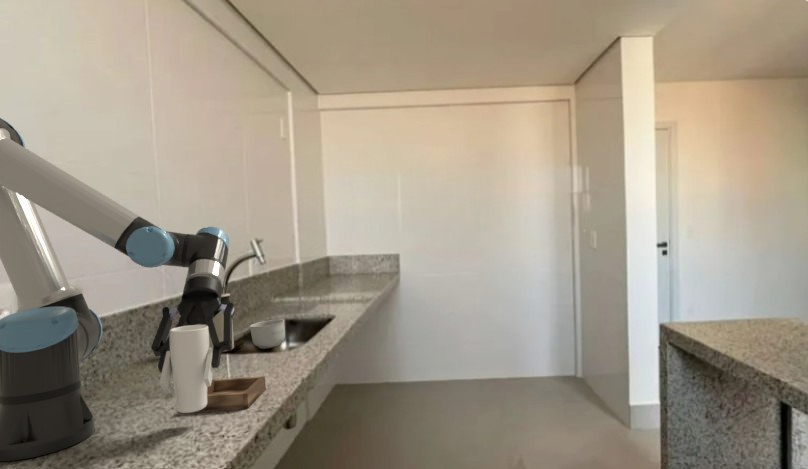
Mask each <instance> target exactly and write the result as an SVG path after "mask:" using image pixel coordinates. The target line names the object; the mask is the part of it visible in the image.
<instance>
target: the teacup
mask: <svg viewBox="0 0 808 469" xmlns="http://www.w3.org/2000/svg"><path fill="white" fill-rule="evenodd" d="M249 328H250V334H251V341H252V343H253V345H254V346H256V347H257V348H259V349H263V350H265V349H271V348H272V349H273V348H275V347H277V346H280V345H281V344H282V343H283V342H284V341H285V338H286V329H285V328H286V327H285V320H284V319H270V320H262V321H259V322H255V323H252V324H251V325H249Z"/></svg>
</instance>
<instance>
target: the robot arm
mask: <svg viewBox="0 0 808 469" xmlns="http://www.w3.org/2000/svg"><path fill="white" fill-rule="evenodd" d="M36 205H37V206H38V207H40V208H42V209H44V210H46V211H48V212H49V213H51V214H53V215H54V216H56V217H59V218H60V219H62V220H64V221H65V222H67V223H69V224H71V225H72V226H74V227H76V228H78V229H80V230H81V231H83V232H85V233H86V234H88V235H90V236H92V237H94V238H96V239H98V240H99V241H101V242H102V243H105V244H106V245H108V246H110V247H112V248H114V249H115V250H117V251H118V252H120V253H122V254H123V255H125V256H126V257H129V259H130V260H131V261H132V262H133V263H135V264H136V265H139V266H141V267H143V268H150V269H151V268H158V267H162V266H167V267H168V266H169V267H180V268H181V267H182V268H188V269H187V273H186V277H185V280H184V282H185V284H184V286H183V290H182V294H181V301H180V302H179V304H178V305H177V307H173V308H169V307H168V306H164V307H163V308H162V309H161V310H162V317H161V320H160V323H159V326H158V328H157V331H156V333H155V337H154V338H153V341H152V344H151V346H150V347H151V348H150V349H151V350H152V352H153V354H154V356H155V357H159V361H158V364H157V368H158V370H159V373H160V374H161V375H160V377H159V378H160V379H159V382H158V383H159V385H160V387H161V389H162V392H167V391H169V387H170V381H171V377H172V374H173V373H172V366H171V358H170V347H169V333H170V332H169V331H170V330H171V329H172V326H173V321H175V318H176V316H178V315H180V317H179V318H178V322H177V324H176V325H175V326H174V328H176V327H182V326H189V325H206V324H207V326H208V329H209V333H210V337H211V340H212V344H213V347H211V348H209V350H208V354H207V360H206V367H205V373H204V382H205V384H206V387H209V386H211V382H212V380H213V373H214V369H217V368H219V367H220V363H221V356H222V353H224V352H223V351H225V350H230V351H232V350H233V349H232V321H233V318H234V316H235V314H236V310H235V306H234V303H233V302H231V303H228V304H227V305H224V304H221V296H222V294H223V287H224V286H223V285H224V281H225V274H226V268H227V267H226V266H227V261H228V255H229V244H230V241H229V236H228V234H227V233H226V232H225V231H224V230H223V229H221V228H218V227H215V226H208V227H202V228H200V229H199V230H198V231H197V232H196V233H195V234H193V233H181V232H174V231H168V230H164V229H162V228H161V227H159V226H157V225H156V224H154V223H152V222H151V221H148V220H147V219H146V218H143V217H141V216H140V215H138V214H137V213H135V212H133V211H132V210H130V209H128V208H127V207H126V206H123V205H122V204H120V203H118V202H116V200H115V201H114V200H113V199H111V198H110V197H108V196H106V195H105V194H103V193H102V192H100V191H98V190H97V189H95V188H93V187H91V186H90V185H88V184H86V182H83V181H81V180H80V179H79V178H76V177H74V176H73V175H71V174H70V173H68V172H66V171H65V170H63V169H61V168H60V167H58V166H56V165H54V164H53V163H52V162H50V161H48V160H47V159H44V158H43V157H41V156H40V155H38V154H36V153H34V152H33V151H31V150H30V149H27V148H26V144H25V141H24V138H23V137H22V136H21V135H20V133H19V131H17V129H15V127H14V126H13V125H12V124H11V123H9V122H8V121H6V120H5V119H3V118H1V117H0V261H1V263H2V266H3V268H4V270H5V273H6V275H7V277H8V279H9V281H10V284H11V287H12V289H13V291H14V293H15V295H16V296H17V300H18V301H19V307H18V309H17V310H16V312H14V313H10V314H9V315H6V316H4V317H2V318H0V462H11V461H18V460H21V461H22V460H25V459H32V458H36V457H40V456H43V455H48V454H51V453H56V452H57V451H61V450H64V449H66V448H69V447H72V446H74V445H76V444H79V443H81V442H83V441H84V440H86V439H88V438H89V437H90V436H92V435H93V434H94V433H95V430H96V426H95V417H94V414H93V413H92V411H91V408H90V406H89V404H88V403H87V400H86V398H85V396H84V394H83V392H82V383H81V382H82V381H81V379H82V378H81V366H80V365H81V363H80V362H82V361H83V360H85V359H87V358H88V357H89V356H91V354H93V353H94V351H95V350H96V348H97V347H98V346H99V343H100V342H101V339H102V336H103V323H102V321H101V319H100V317H99V316H98V314H97V313H95V312H94V311H93V310H92V308H91V309H90V308H89V306H88V304H87V301H86V299H85V297H84V295H83V292H82V291H80V290H77V289H74V288H72V287H71V285H70V284H69V281H68V279H67V276H66V274H65V272H64V270H63V267H62V265H61V263H60V260H59V258H58V256H57V254H56V252H55V249H54V247H53V244H52V242H51V240H50V237H49V235H48V232H47V231H46V228H45V226H44V224H43V222H42V218H41V216H40V214H39V212H38V210H37V207H36ZM220 311H222V313H223V315H224V334H223V341H222V342H219V339H218V336H217V333H216V329H215V326H214V323H213V318H214V317H215V316H216V315H217V314H218V313H219V312H220ZM231 349H232V350H231Z"/></svg>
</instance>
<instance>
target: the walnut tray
mask: <svg viewBox="0 0 808 469" xmlns="http://www.w3.org/2000/svg"><path fill="white" fill-rule="evenodd" d="M266 386H267V385H266V376H264V375H263V376H251V377H250V376H249V377H236V378H219V379H212V382H211V386H209V387H208V389H207V400H208V403H207V406H206V407H205V408H203V409H201V410H199V411H195V412H194V413H197V412H198V413H199V412H213V411H214V412H215V411H216V412H217V411H227V410H228V411H230V410H243V409H244V410H246V409H249V408H250V407H251V406H252V405H253V404H254V403H255V402H256V401H257V400H258V399H259V398H260V396H262V394H263V393H264V392H265V391H266V390H267V388H266Z"/></svg>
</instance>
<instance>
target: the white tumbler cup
mask: <svg viewBox="0 0 808 469" xmlns="http://www.w3.org/2000/svg"><path fill="white" fill-rule="evenodd" d="M175 327H176V326H175ZM175 327H172V328H171V329H170V331H169V334H168V337H169V347H170V358H171V366H172V373H171V374H172V381H173V386H174V387H173V388H174V396H175V408H176V411H177V412H179V413H181V414H182V413H183V414H186V413H196V412H195V411H199V410H201V409H203V408H205V407H206V406H207V403H208V400H207V389H208V387H206V384H205V382H204V373H205V367H206V360H207V354H208V350H209V348H210V344H209V329H208V326H207V325H206V324H196V325H189V326H182V327H176V328H175Z"/></svg>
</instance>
